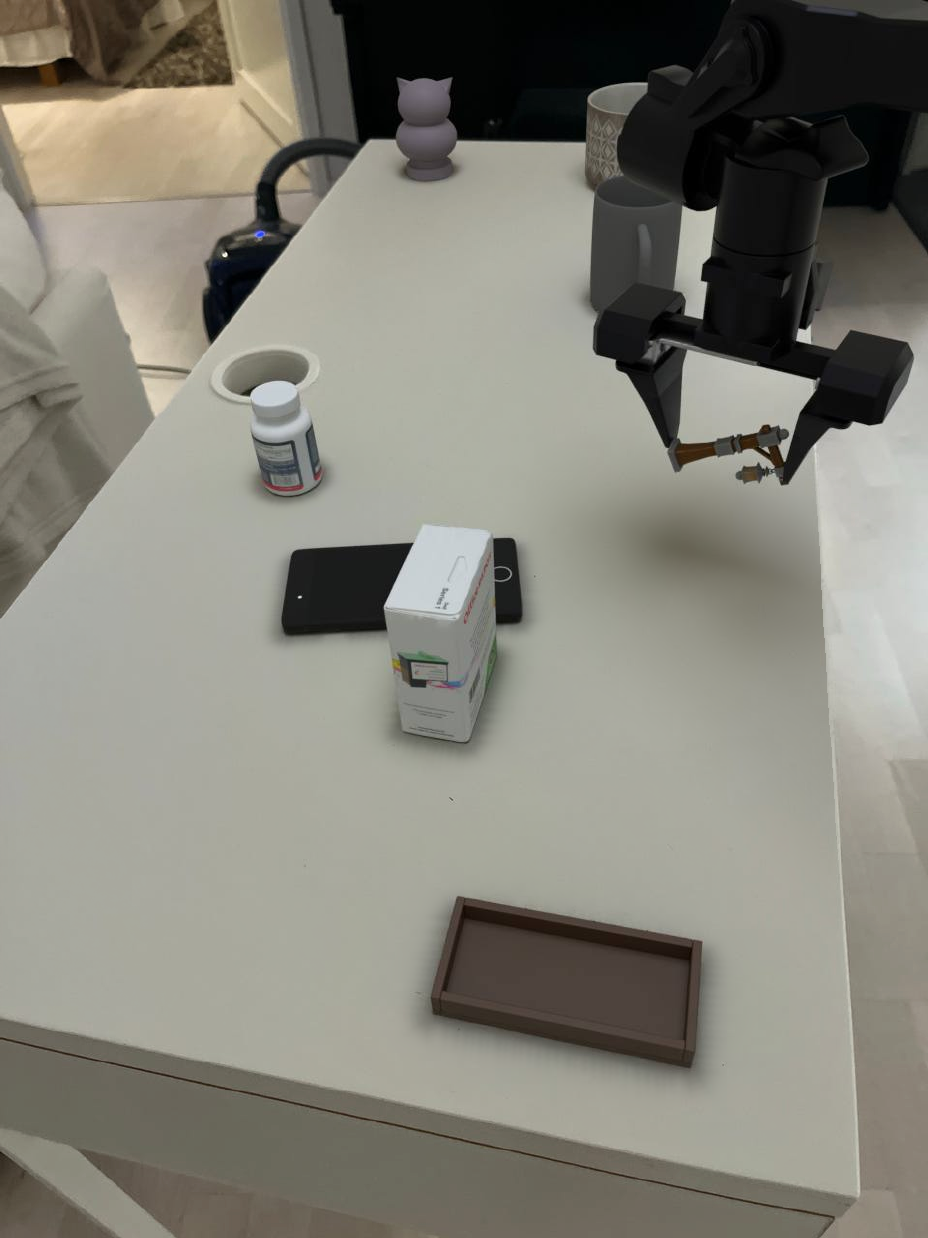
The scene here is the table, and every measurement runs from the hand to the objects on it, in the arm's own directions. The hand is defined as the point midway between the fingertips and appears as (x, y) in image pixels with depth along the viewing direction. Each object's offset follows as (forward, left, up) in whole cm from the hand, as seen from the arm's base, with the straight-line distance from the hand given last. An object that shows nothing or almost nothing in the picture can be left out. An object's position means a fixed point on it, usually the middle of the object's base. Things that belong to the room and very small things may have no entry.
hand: (728, 462), depth 67 cm
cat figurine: (+67, -61, -12) cm, 92 cm away
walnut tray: (-6, +33, -12) cm, 36 cm away
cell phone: (+20, +12, -12) cm, 26 cm away
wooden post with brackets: (0, 0, -1) cm, 1 cm away
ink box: (+11, +19, -12) cm, 25 cm away
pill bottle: (+37, +5, -12) cm, 39 cm away
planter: (+40, -70, -12) cm, 82 cm away
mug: (+24, -37, -12) cm, 46 cm away
